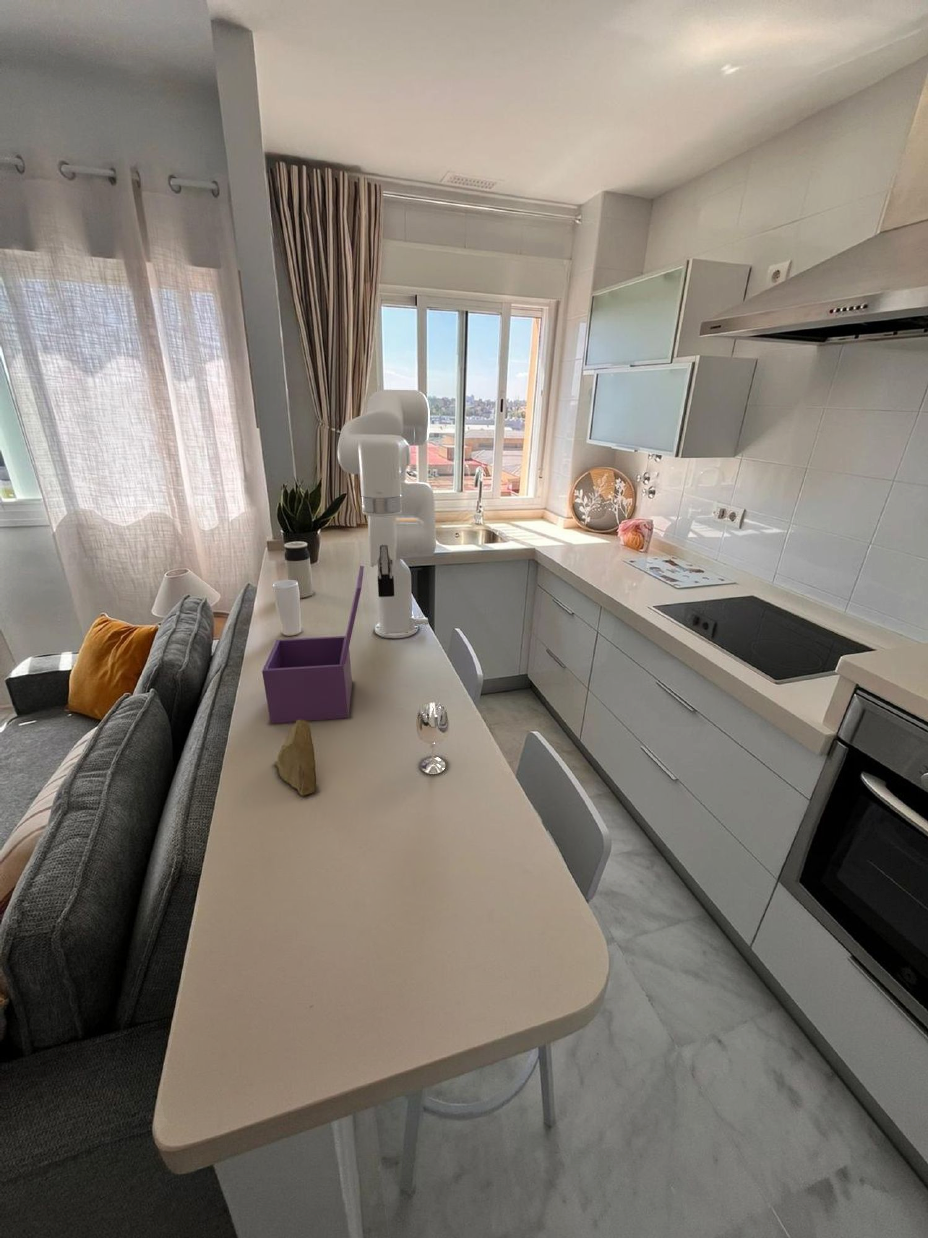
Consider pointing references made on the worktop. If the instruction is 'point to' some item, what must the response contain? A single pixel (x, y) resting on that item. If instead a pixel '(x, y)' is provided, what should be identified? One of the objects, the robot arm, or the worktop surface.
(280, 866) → the worktop surface
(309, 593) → the travel mug
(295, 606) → the drinking glass
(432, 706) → the wineglass
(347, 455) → the robot arm
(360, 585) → the lid
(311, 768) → the rock
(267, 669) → the purple box
